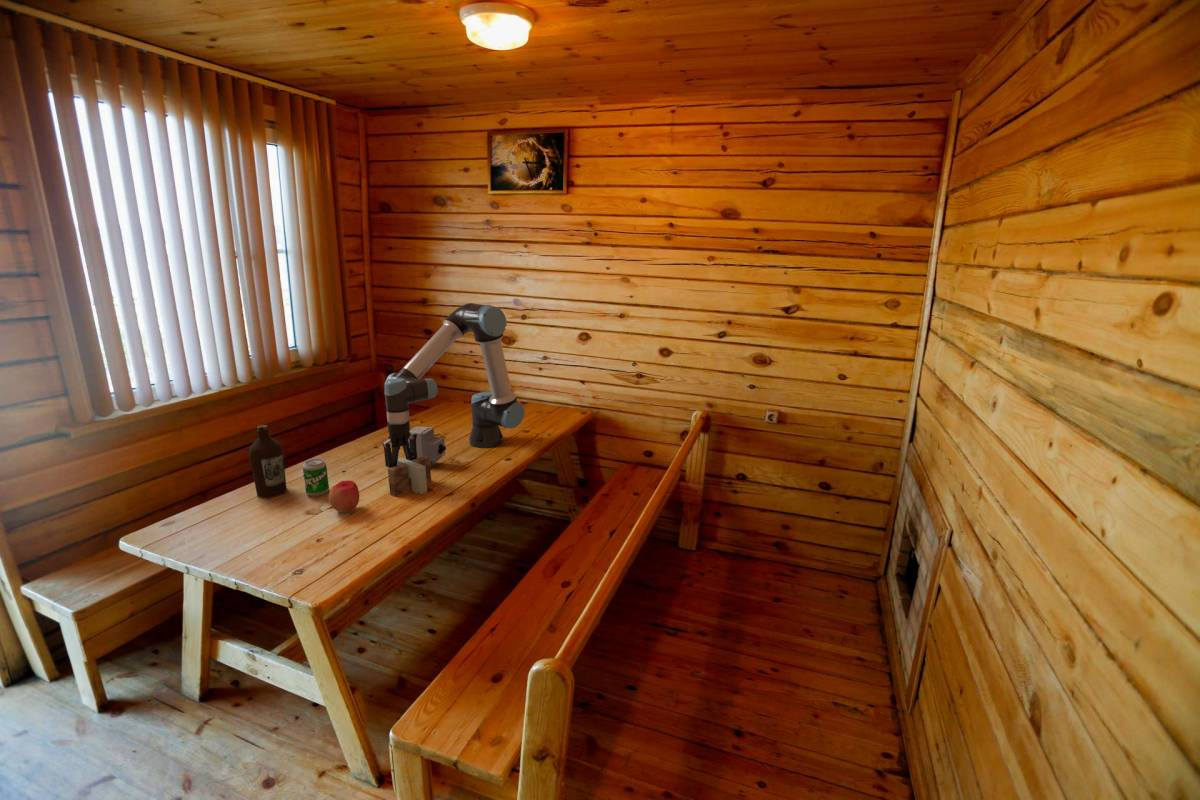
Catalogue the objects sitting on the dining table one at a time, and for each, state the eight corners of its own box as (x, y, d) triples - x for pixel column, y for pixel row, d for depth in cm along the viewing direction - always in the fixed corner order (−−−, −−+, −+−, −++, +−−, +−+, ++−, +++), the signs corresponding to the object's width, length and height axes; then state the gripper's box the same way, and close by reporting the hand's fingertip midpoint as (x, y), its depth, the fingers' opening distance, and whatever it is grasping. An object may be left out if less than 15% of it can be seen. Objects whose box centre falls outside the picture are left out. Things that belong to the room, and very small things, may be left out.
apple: (339, 504, 199) (336, 477, 196) (366, 504, 199) (363, 478, 196) (325, 517, 190) (322, 489, 187) (354, 517, 189) (351, 489, 187)
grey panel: (396, 484, 215) (393, 459, 212) (402, 482, 217) (400, 457, 215) (420, 494, 207) (418, 468, 205) (427, 491, 210) (425, 466, 207)
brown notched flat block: (426, 480, 220) (424, 455, 217) (431, 482, 218) (429, 457, 215) (390, 494, 207) (387, 468, 204) (395, 496, 205) (393, 470, 203)
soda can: (306, 490, 209) (302, 459, 206) (329, 487, 212) (326, 456, 209) (305, 498, 202) (301, 467, 199) (329, 495, 205) (325, 464, 202)
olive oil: (249, 493, 206) (238, 427, 199) (279, 483, 214) (270, 419, 207) (263, 501, 200) (253, 433, 193) (294, 491, 208) (285, 425, 201)
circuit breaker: (441, 470, 229) (439, 435, 225) (408, 467, 231) (405, 432, 227) (449, 463, 236) (447, 429, 232) (417, 460, 239) (415, 426, 234)
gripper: (412, 413, 217) (416, 471, 224) (370, 425, 203) (376, 486, 209) (425, 417, 213) (429, 475, 219) (383, 429, 199) (389, 491, 205)
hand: (403, 480), depth 214 cm, fingers open, 5 cm apart
